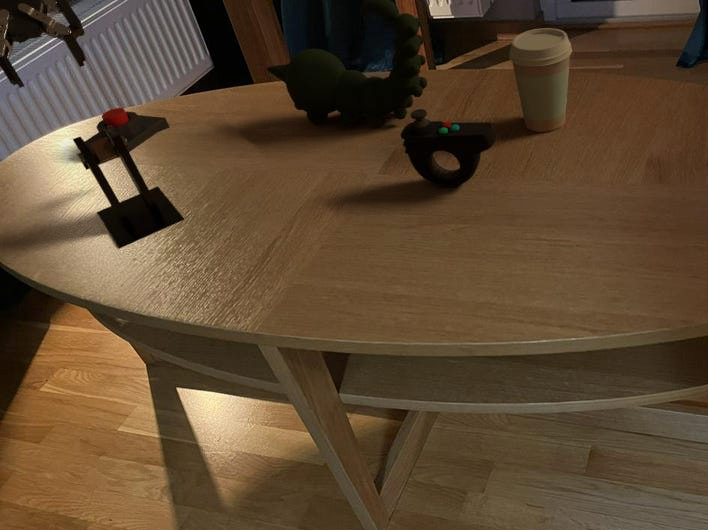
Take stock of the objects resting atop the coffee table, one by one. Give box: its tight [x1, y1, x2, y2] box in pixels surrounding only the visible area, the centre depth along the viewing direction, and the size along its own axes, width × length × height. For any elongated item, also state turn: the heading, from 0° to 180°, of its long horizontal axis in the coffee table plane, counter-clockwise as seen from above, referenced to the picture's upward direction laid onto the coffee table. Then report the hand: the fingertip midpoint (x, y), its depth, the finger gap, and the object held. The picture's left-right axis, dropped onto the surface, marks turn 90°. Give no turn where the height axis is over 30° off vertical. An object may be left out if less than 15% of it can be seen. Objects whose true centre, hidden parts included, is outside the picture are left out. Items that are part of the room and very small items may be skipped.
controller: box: [400, 108, 498, 188], centre depth 90 cm, size 4×12×10 cm, turn 76°
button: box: [101, 107, 129, 127], centre depth 113 cm, size 4×4×2 cm
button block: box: [84, 111, 171, 154], centre depth 115 cm, size 11×9×4 cm
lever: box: [82, 137, 120, 170], centre depth 94 cm, size 13×6×2 cm, turn 36°
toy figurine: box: [266, 0, 428, 128], centre depth 105 cm, size 9×19×25 cm
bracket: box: [72, 125, 185, 249], centre depth 93 cm, size 12×9×13 cm
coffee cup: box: [508, 27, 573, 133], centre depth 98 cm, size 8×8×12 cm
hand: (51, 73), depth 100 cm, fingers open, 8 cm apart
